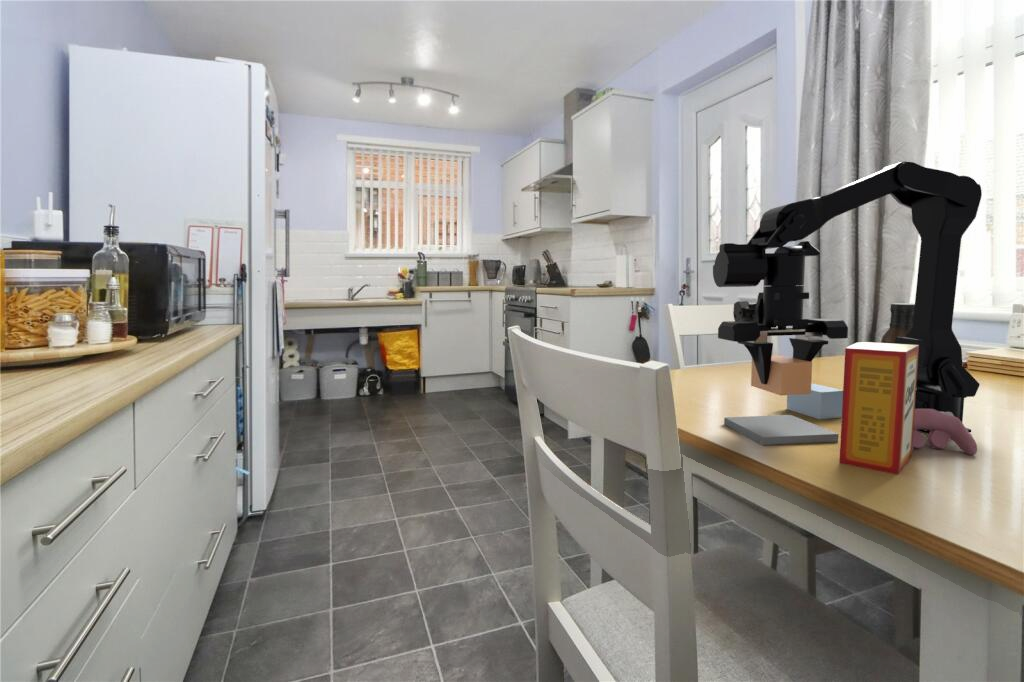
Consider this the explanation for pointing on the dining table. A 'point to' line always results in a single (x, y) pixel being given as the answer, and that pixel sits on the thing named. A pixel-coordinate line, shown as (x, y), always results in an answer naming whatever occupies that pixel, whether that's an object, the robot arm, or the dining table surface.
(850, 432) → the baking soda box
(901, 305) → the sauce bottle
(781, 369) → the brick bottom
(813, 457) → the dining table surface
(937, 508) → the dining table surface
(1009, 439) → the dining table surface
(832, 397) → the brick top
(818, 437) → the baseplate
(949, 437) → the video game controller
